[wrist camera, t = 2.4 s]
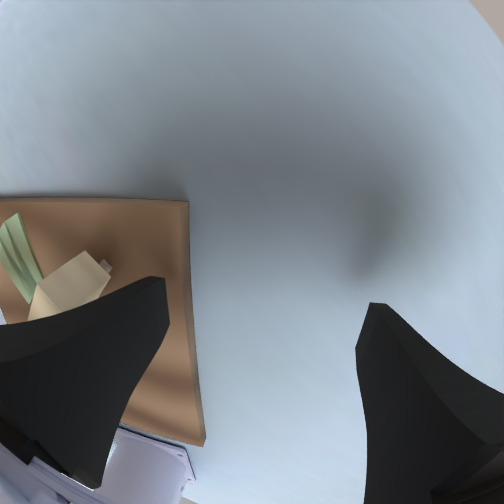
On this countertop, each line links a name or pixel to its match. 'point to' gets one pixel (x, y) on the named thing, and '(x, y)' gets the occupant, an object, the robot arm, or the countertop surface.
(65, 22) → the countertop surface
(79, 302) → the beige elongated block piece
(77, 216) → the base
